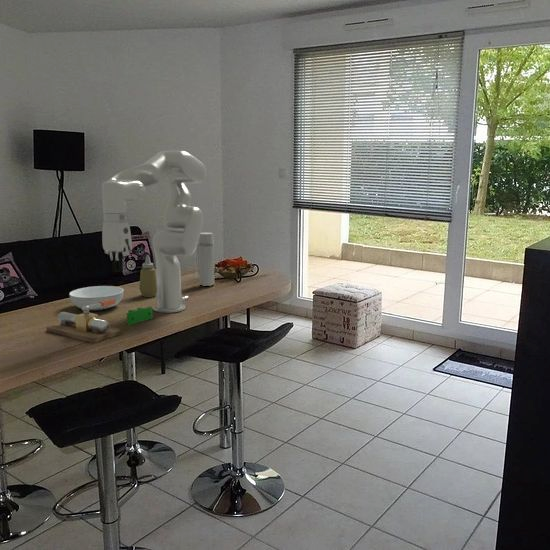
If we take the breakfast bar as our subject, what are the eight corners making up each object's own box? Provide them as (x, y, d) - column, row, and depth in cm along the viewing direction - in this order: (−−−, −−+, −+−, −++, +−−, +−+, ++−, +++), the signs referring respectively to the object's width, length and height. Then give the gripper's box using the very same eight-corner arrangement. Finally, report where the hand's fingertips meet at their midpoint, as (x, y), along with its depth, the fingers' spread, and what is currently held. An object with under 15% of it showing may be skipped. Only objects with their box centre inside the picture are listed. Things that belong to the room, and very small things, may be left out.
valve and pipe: (68, 321, 208) (67, 308, 207) (111, 331, 196) (110, 317, 195) (56, 325, 204) (55, 311, 203) (99, 335, 192) (98, 320, 191)
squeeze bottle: (157, 293, 259) (155, 253, 255) (159, 297, 251) (158, 256, 248) (138, 294, 256) (137, 254, 253) (140, 298, 249) (138, 257, 245)
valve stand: (74, 323, 212) (74, 319, 211) (121, 333, 199) (121, 329, 199) (46, 331, 202) (46, 327, 201) (93, 343, 189) (93, 338, 189)
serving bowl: (98, 299, 248) (97, 283, 246) (135, 305, 238) (134, 289, 236) (58, 310, 230) (57, 293, 229) (96, 317, 220) (95, 299, 219)
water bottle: (217, 284, 278) (216, 232, 273) (211, 287, 270) (210, 234, 265) (198, 283, 280) (197, 231, 275) (193, 286, 272) (191, 234, 267)
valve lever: (85, 315, 196) (85, 307, 195) (80, 314, 197) (79, 306, 197) (116, 307, 207) (115, 299, 206) (110, 306, 208) (110, 298, 208)
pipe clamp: (145, 317, 221) (145, 305, 220) (152, 319, 219) (152, 307, 218) (122, 323, 212) (121, 311, 211) (129, 325, 210) (128, 313, 209)
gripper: (139, 218, 195) (141, 272, 198) (108, 216, 203) (111, 267, 206) (122, 220, 188) (124, 275, 192) (91, 217, 196) (94, 270, 200)
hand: (117, 271), depth 199 cm, fingers closed
